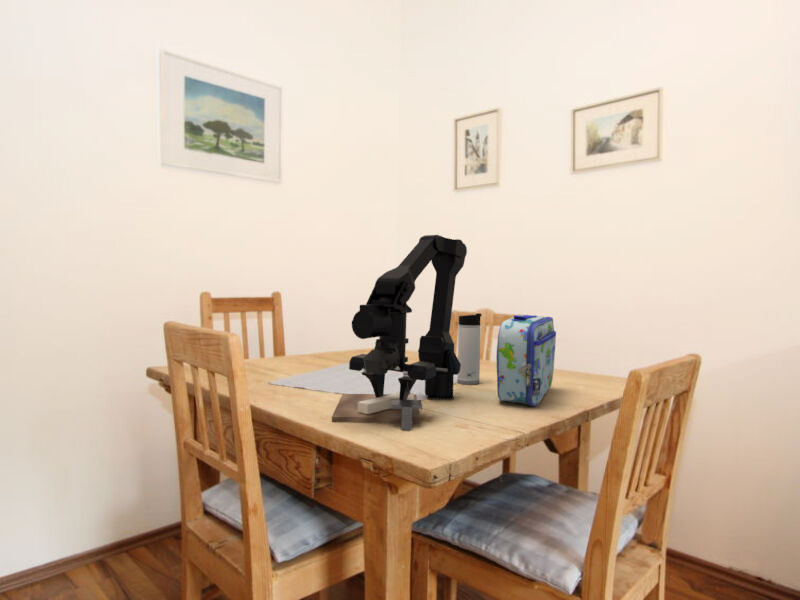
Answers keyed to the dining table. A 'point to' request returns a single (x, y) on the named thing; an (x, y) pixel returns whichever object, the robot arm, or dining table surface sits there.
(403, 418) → the metal keeper
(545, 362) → the lunch box
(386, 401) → the cream link
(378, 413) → the walnut board
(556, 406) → the dining table surface
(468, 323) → the travel mug
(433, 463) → the dining table surface
